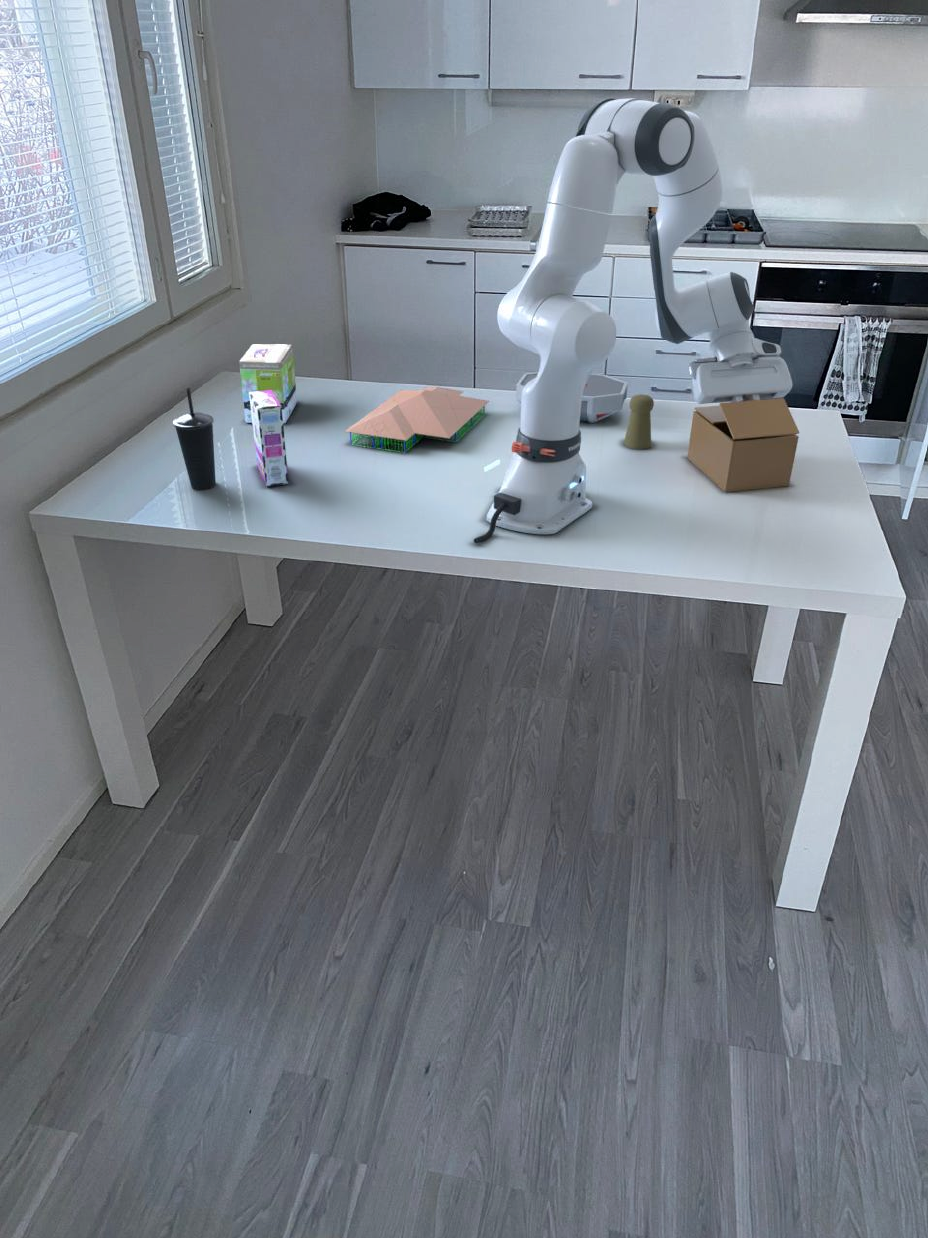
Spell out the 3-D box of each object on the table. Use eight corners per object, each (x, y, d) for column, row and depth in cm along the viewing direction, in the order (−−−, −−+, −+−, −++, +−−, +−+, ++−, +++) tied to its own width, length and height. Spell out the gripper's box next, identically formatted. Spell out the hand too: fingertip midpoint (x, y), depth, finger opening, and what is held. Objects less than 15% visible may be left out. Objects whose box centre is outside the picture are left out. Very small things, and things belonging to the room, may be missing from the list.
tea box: (287, 424, 218) (281, 361, 210) (244, 423, 218) (236, 360, 210) (298, 402, 231) (292, 342, 223) (257, 402, 231) (250, 342, 223)
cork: (654, 441, 209) (659, 393, 203) (647, 451, 204) (652, 402, 199) (628, 437, 211) (632, 389, 205) (620, 446, 207) (624, 398, 201)
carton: (788, 485, 189) (799, 432, 183) (725, 492, 186) (733, 438, 180) (746, 452, 204) (755, 402, 198) (687, 458, 201) (694, 407, 195)
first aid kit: (511, 421, 220) (617, 431, 214) (512, 390, 216) (620, 399, 210) (527, 397, 234) (627, 406, 229) (528, 368, 230) (630, 376, 225)
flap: (798, 433, 183) (799, 432, 183) (733, 439, 180) (734, 438, 180) (783, 399, 187) (783, 397, 187) (719, 404, 184) (719, 402, 184)
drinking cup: (189, 495, 184) (172, 397, 174) (180, 481, 190) (163, 385, 180) (227, 488, 187) (213, 390, 177) (217, 474, 193) (203, 379, 182)
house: (492, 410, 226) (493, 377, 222) (441, 459, 200) (441, 423, 196) (406, 399, 233) (405, 366, 229) (345, 445, 207) (343, 409, 203)
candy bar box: (290, 484, 189) (282, 405, 180) (266, 487, 188) (256, 408, 179) (280, 464, 198) (272, 388, 189) (256, 467, 197) (247, 390, 188)
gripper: (693, 351, 185) (708, 415, 182) (787, 344, 189) (803, 407, 186) (681, 367, 191) (695, 429, 188) (772, 360, 195) (787, 421, 192)
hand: (750, 418), depth 187 cm, fingers closed
